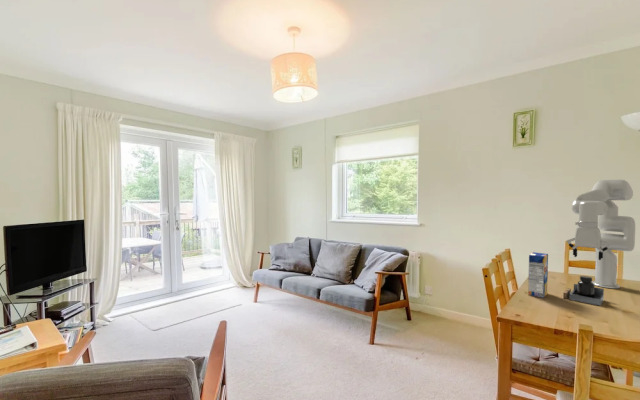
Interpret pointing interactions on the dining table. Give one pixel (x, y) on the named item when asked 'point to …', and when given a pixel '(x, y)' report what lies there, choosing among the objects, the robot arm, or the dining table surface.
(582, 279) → the supplement bottle
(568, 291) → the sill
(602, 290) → the keeper
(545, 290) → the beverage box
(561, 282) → the dining table surface
